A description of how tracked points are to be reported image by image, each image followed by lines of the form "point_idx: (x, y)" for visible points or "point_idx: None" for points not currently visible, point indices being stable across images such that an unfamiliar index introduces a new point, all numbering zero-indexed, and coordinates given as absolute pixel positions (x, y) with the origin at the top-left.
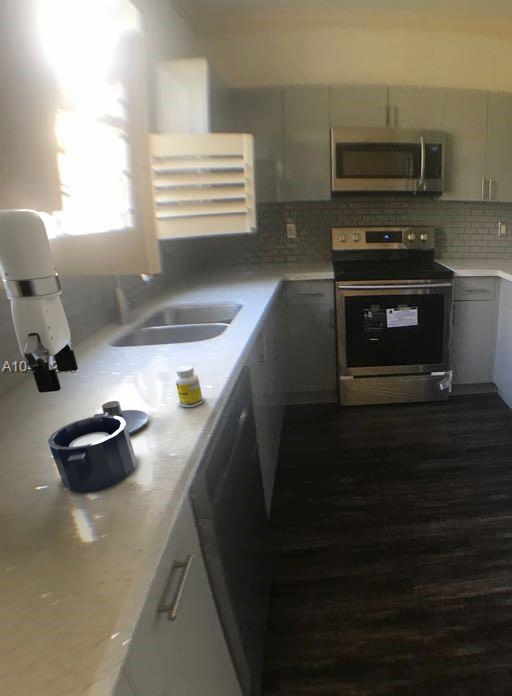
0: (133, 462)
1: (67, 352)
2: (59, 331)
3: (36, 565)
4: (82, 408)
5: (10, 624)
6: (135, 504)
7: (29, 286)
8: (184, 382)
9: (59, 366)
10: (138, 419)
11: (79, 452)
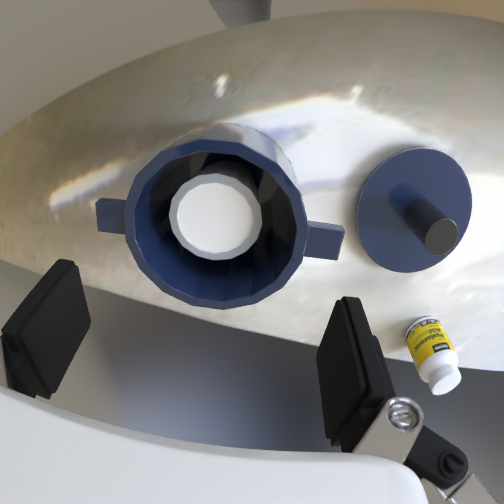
0: None
1: (332, 430)
2: None
3: (26, 148)
4: None
5: None
6: (109, 251)
7: None
8: (424, 367)
9: (342, 326)
10: (408, 256)
11: (122, 221)
